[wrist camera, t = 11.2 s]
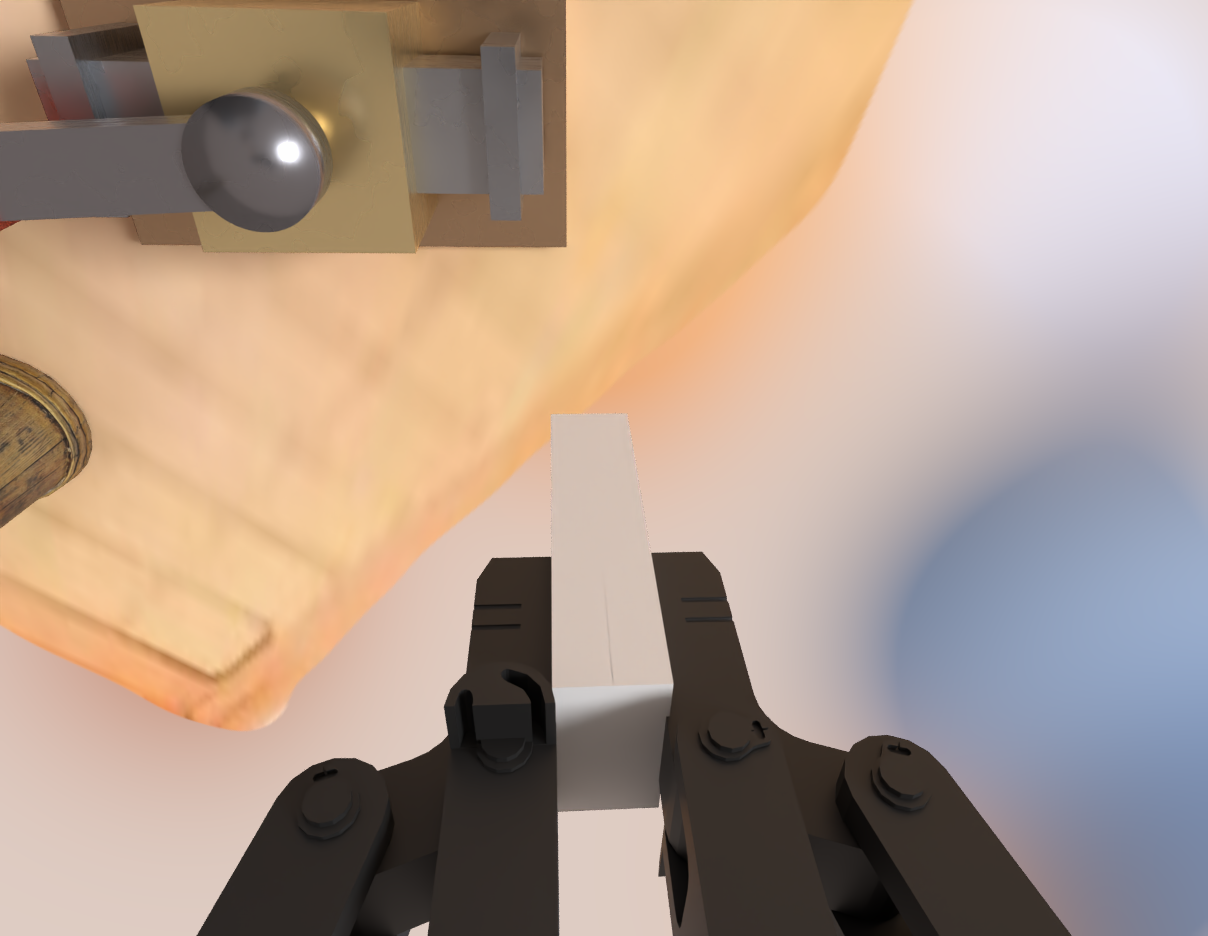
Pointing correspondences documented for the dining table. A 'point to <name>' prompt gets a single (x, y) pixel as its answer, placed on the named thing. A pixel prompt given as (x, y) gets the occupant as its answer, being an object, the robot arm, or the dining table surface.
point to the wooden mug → (36, 437)
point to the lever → (171, 164)
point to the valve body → (347, 109)
